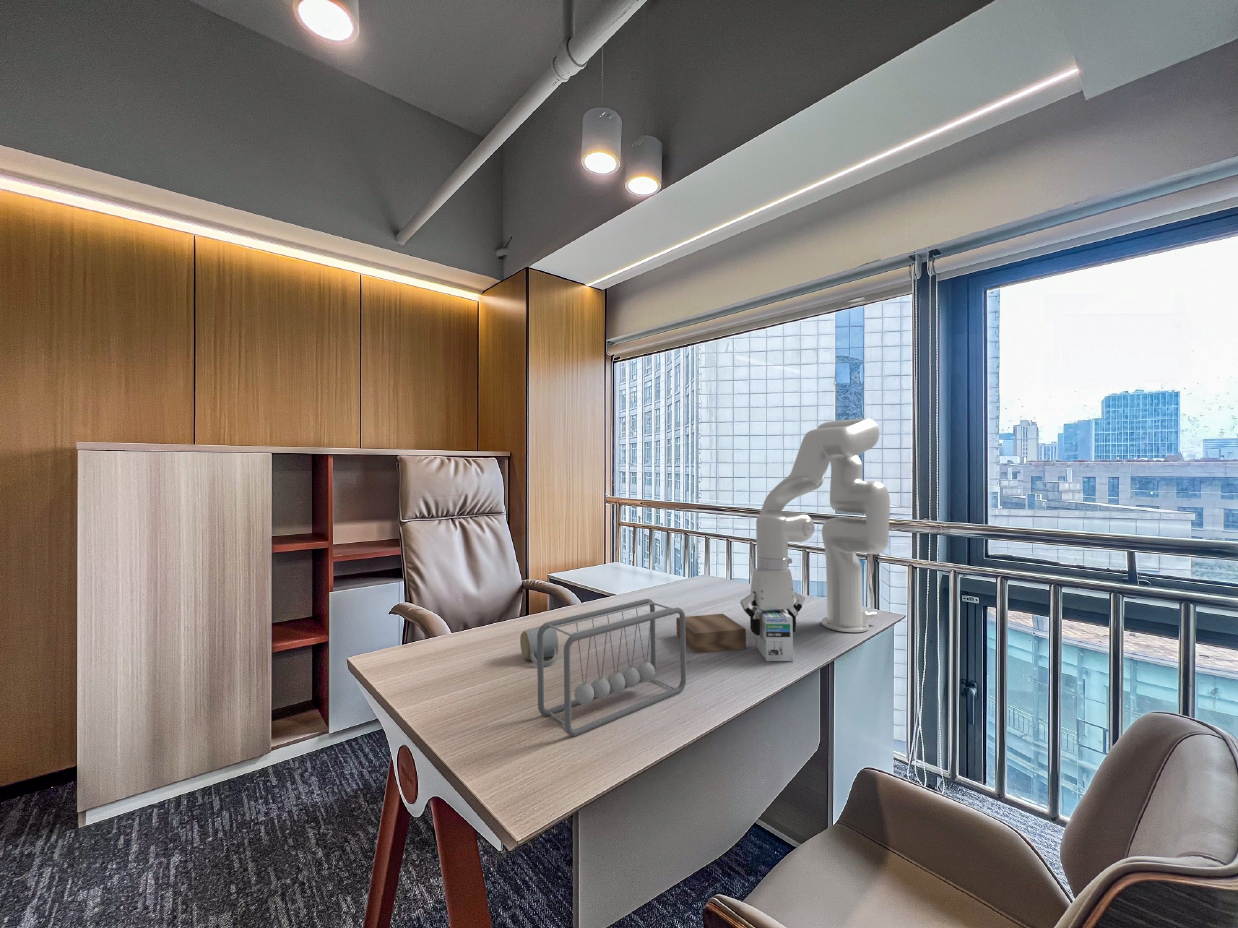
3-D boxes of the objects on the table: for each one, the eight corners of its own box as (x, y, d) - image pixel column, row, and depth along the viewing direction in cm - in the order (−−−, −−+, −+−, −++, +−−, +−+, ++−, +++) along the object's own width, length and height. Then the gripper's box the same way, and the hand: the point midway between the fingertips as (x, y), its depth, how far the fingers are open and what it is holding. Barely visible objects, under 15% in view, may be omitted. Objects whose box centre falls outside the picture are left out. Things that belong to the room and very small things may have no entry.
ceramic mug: (518, 655, 125) (518, 624, 125) (549, 649, 129) (549, 620, 129) (531, 670, 116) (530, 638, 116) (564, 664, 120) (563, 632, 120)
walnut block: (723, 631, 142) (722, 613, 142) (746, 648, 128) (745, 628, 128) (676, 635, 139) (676, 617, 139) (695, 653, 125) (694, 633, 125)
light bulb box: (794, 661, 119) (793, 616, 119) (766, 662, 119) (765, 617, 119) (780, 645, 130) (780, 604, 130) (754, 646, 130) (754, 604, 130)
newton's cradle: (653, 674, 112) (652, 596, 113) (687, 690, 104) (686, 606, 104) (537, 717, 94) (535, 623, 94) (567, 741, 86) (565, 638, 86)
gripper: (794, 559, 130) (795, 624, 130) (733, 562, 126) (734, 630, 126) (811, 564, 123) (813, 633, 123) (747, 568, 119) (748, 640, 119)
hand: (773, 632), depth 124 cm, fingers open, 9 cm apart
